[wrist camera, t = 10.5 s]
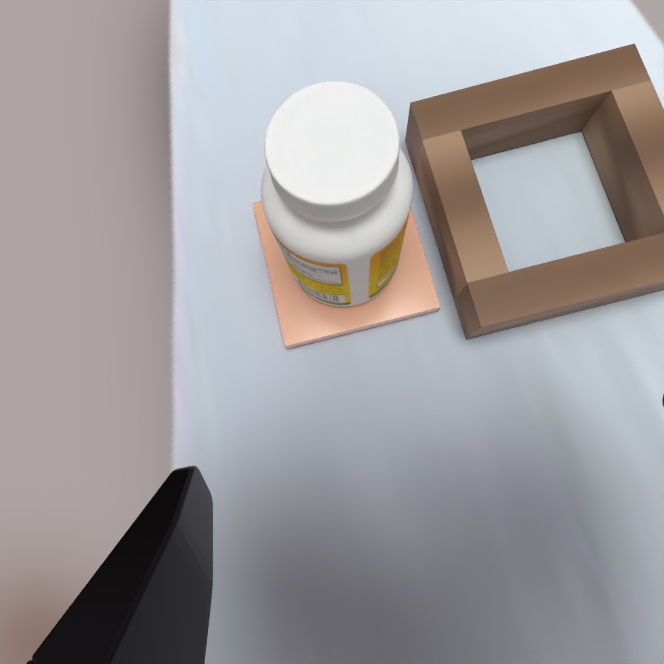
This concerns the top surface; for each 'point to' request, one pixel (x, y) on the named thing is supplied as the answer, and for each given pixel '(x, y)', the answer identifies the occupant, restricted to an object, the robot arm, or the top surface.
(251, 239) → the top surface
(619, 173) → the pocket block
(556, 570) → the top surface
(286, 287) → the coaster
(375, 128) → the supplement bottle
